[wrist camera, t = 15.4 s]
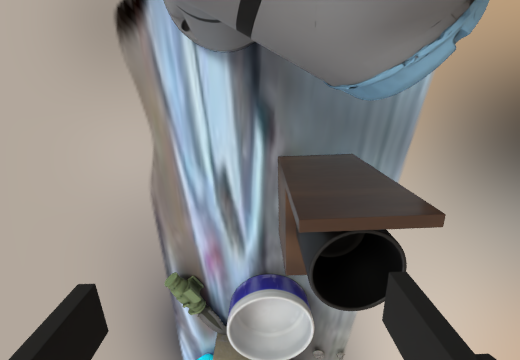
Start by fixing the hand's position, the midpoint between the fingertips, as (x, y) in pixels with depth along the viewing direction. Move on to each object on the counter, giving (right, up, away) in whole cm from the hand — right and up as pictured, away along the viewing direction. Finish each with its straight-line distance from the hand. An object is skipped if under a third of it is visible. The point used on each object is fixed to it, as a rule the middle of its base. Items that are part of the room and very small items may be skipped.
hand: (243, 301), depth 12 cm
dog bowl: (+2, -19, +40) cm, 44 cm away
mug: (+10, -2, +22) cm, 25 cm away
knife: (-12, -20, +38) cm, 45 cm away
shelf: (+10, +3, +33) cm, 34 cm away
